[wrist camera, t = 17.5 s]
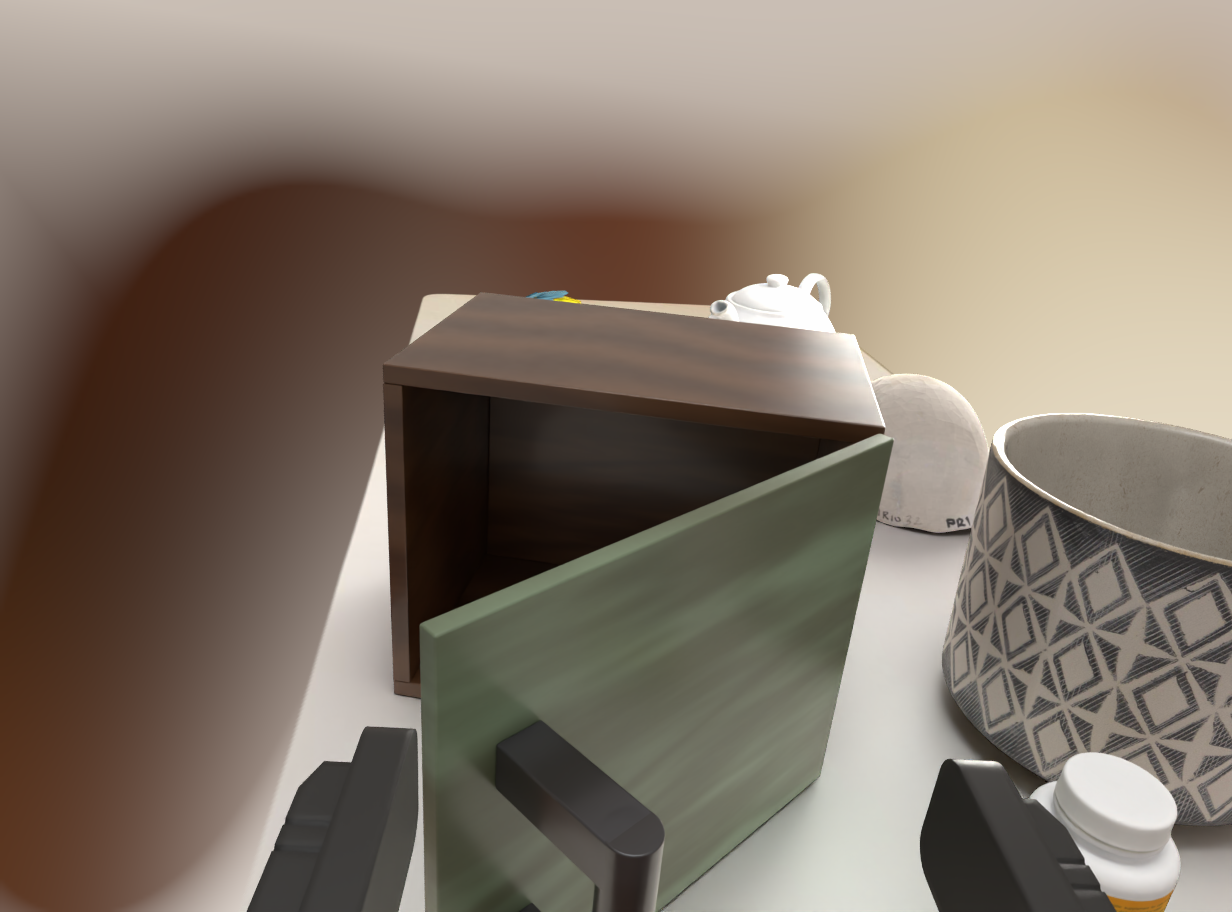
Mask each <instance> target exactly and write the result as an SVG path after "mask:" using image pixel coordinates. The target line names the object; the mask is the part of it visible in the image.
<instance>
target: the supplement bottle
mask: <svg viewBox="0 0 1232 912" xmlns="http://www.w3.org/2000/svg"><path fill="white" fill-rule="evenodd" d="M1029 799H1036V800H1037V801H1038V802H1039V803H1040V804H1041V805H1043V806H1044V807H1045V808H1046V809H1047V810H1048V811H1049V812H1050V813H1051V814H1052V815H1053V816H1054V817H1055V818H1056V819H1057V820H1059V821H1060V822H1061V823H1062V824H1063V825H1064V826H1065V827H1066V828H1067V830H1068V832H1069V833H1070V835H1071V837H1072V838H1073V840H1074V842H1075V843H1076V845H1077V847H1078V848H1079V850H1080V852H1081V853H1082V855H1083V857H1084V858H1085V864H1086V865H1089V867H1090V868H1091V870H1092V872H1093V873H1094V875H1095V876H1096V878H1097V880H1098V881H1099V883H1100V885H1101V886H1100V888H1101V891H1102V892H1105V893H1106V895H1107V896H1108V898H1109V900H1110V901H1111V903H1112V905H1113V906H1114V908H1115V910H1116V911H1117V912H1164V910H1165V908H1166V906H1167V904H1168V902H1169V899H1170V897H1171V895H1172V893H1173V890H1174V888H1175V886H1176V884H1177V881H1178V879H1179V876H1180V870H1181V862H1180V856H1179V853H1178V850H1177V847H1176V845H1175V843H1174V841H1173V839H1172V838H1171V830H1172V828H1173V826H1174V823H1175V821H1176V818H1177V806H1176V803H1175V801H1174V798H1173V797H1172V795H1171V794H1170V792H1169V791H1168V790H1167V789H1166V787H1165V786H1164V785H1163V784H1162V783H1161V782H1160V781H1159V780H1158V779H1156V778H1155V777H1154V776H1153V775H1151V774H1150V773H1149V772H1147V771H1146V770H1144V769H1142V768H1141V767H1139V766H1137V765H1135V764H1133V763H1131V762H1129V761H1127V760H1124V759H1122V758H1119V757H1116V756H1112V755H1108V754H1104V753H1096V752H1088V753H1080V754H1077V755H1075V756H1073V757H1071V758H1070V759H1069V760H1068V761H1067V762H1066V764H1065V765H1064V768H1063V770H1062V773H1061V775H1060V777H1059V779H1058V780H1057V781H1053V782H1050V783H1047V784H1044V785H1042V786H1040V787H1039V788H1038V789H1036V790H1035V791H1034V792H1033V793H1032V794H1031V796H1030V797H1029Z"/></svg>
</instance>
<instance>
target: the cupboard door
mask: <svg viewBox="0 0 1232 912" xmlns="http://www.w3.org/2000/svg"><path fill="white" fill-rule="evenodd" d="M893 443H894V439H893V438H891V437H888V436H885V435H883V434H877V435H874V436H872V437H870V438H867V439H865V440H862V441H860V442H857V443H855V444H853V445H850V446H848V447H845V448H843V449H841V450H838V451H836V452H833V453H831V454H829V455H826V456H824V457H821V458H819V459H816V460H814V461H812V462H809V463H807V464H804V465H802V466H800V467H797V468H795V469H792V470H790V471H787V472H785V473H783V474H780V475H778V476H775V477H773V478H771V479H768V480H766V481H763V482H761V483H758V484H756V485H754V486H751V487H749V488H746V489H744V490H742V491H739V492H737V493H734V494H732V495H729V496H727V497H725V498H722V499H720V500H717V501H715V502H713V503H710V504H708V505H705V506H703V507H700V508H698V509H696V510H693V511H691V512H688V513H686V514H684V515H681V516H679V517H676V518H674V519H671V520H669V521H667V522H664V523H662V524H659V525H657V526H655V527H652V528H650V529H647V530H645V531H642V532H640V533H638V534H635V535H633V536H630V537H628V538H626V539H623V540H621V541H618V542H616V543H613V544H611V545H609V546H606V547H604V548H601V549H599V550H597V551H594V552H592V553H589V554H587V555H584V556H582V557H580V558H577V559H575V560H572V561H570V562H568V563H565V564H563V565H560V566H558V567H555V568H553V569H551V570H548V571H546V572H543V573H541V574H539V575H536V576H534V577H531V578H529V579H526V580H524V581H522V582H519V583H517V584H514V585H512V586H510V587H507V588H505V589H502V590H500V591H497V592H495V593H493V594H490V595H488V596H485V597H483V598H481V599H478V600H476V601H473V602H471V603H468V604H466V605H464V606H461V607H459V608H456V609H454V610H452V611H449V612H447V613H444V614H442V615H440V616H437V617H435V618H432V619H430V620H427V621H425V622H423V623H421V624H420V672H421V723H422V774H423V825H424V876H425V912H658V911H659V910H660V909H662V908H663V907H664V906H665V905H666V904H668V903H669V902H670V901H671V900H672V899H674V898H675V897H676V896H677V895H678V894H680V893H681V892H682V891H683V890H684V889H686V888H687V887H688V886H689V885H690V884H692V883H693V882H694V881H695V880H696V879H697V878H699V877H700V876H701V875H702V874H703V873H705V872H706V871H707V870H708V869H709V868H711V867H712V866H713V865H714V864H715V863H717V862H718V861H719V860H720V859H721V858H723V857H724V856H725V855H726V854H727V853H729V852H730V851H731V850H732V849H733V848H735V847H736V846H737V845H738V844H739V843H741V842H742V841H743V840H744V839H745V838H747V837H748V836H749V835H750V834H751V833H752V832H754V831H755V830H756V829H757V828H758V827H760V826H761V825H762V824H763V823H764V822H766V821H767V820H768V819H769V818H770V817H772V816H773V815H774V814H775V813H776V812H778V811H779V810H780V809H781V808H782V807H784V806H785V805H786V804H787V803H788V802H790V801H791V800H792V799H793V798H794V797H796V796H797V795H798V794H799V793H800V792H802V791H803V790H804V789H805V788H806V787H807V786H809V785H810V784H811V783H812V782H813V781H815V780H816V779H817V778H818V777H819V776H820V774H821V769H822V765H823V760H824V755H825V751H826V746H827V742H828V737H829V733H830V728H831V724H832V719H833V715H834V710H835V706H836V701H837V697H838V692H839V687H840V683H841V678H842V674H843V669H844V665H845V660H846V656H847V651H848V647H849V642H850V638H851V633H852V629H853V624H854V620H855V615H856V610H857V606H858V601H859V597H860V592H861V588H862V583H863V579H864V574H865V570H866V565H867V561H868V556H869V552H870V547H871V542H872V538H873V533H874V529H875V524H876V520H877V515H878V511H879V506H880V502H881V497H882V493H883V488H884V484H885V479H886V474H887V470H888V465H889V461H890V456H891V452H892V447H893Z"/></svg>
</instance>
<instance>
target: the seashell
mask: <svg viewBox="0 0 1232 912" xmlns="http://www.w3.org/2000/svg"><path fill="white" fill-rule="evenodd" d="M870 383H871V386H872V389H873V392H874V395H875V398H876V401H877V404H878V407H879V410H880V413H881V416H882V419H883V422H884V425H885V428H886V429H885V433H884V435H885V436H888V437H891V438H893V439H894V443H893V447H892V452H891V456H890V461H889V465H888V470H887V474H886V479H885V484H884V488H883V493H882V497H881V502H880V506H879V511H878V515H877V520H878V521H880V522H883V523H886V524H889V525H892V526H899V527H911V528H916V529H921V530H925V531H929V532H936V533H941V532H949V531H956V530H962V529H968V528H972V524H973V520H974V516H975V511H976V507H977V503H978V499H979V494H980V490H981V486H982V482H983V478H984V473H985V469H986V465H987V461H988V456H989V449H988V444H987V440H986V437H985V433H984V430H983V428H982V425H981V422H980V420H979V418H978V416H977V415H976V413H975V411H974V410H973V408H972V407H971V405H970V404H969V403H968V402H967V400H966V399H965V398H964V397H963V396H962V395H961V394H959V392H957V391H956V390H955V389H953V388H952V387H951V386H949V385H947V384H946V383H944V382H942V381H940V380H937V379H934V378H932V377H928V376H924V375H918V374H894V375H889V376H885V377H881V378H878V379H875V380H873V381H871V382H870Z"/></svg>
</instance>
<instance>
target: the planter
mask: <svg viewBox="0 0 1232 912" xmlns="http://www.w3.org/2000/svg"><path fill="white" fill-rule="evenodd" d="M942 667H943V673H944V677H945V680H946V683H947V686H948V688H949V690H950V692H951V694H952V696H953V698H954V700H955V701H956V703H957V705H958V706H959V707H960V709H961V710H962V712H963V713H964V714H965V716H966V717H967V718H968V719H969V720H970V721H971V723H972V724H973V725H974V726H975V727H976V728H977V729H978V730H979V731H980V732H981V733H982V734H983V735H984V736H985V737H986V738H987V739H988V740H989V741H990V742H992V743H993V744H994V745H995V746H996V747H998V748H999V749H1000V750H1001V751H1002V752H1004V753H1005V754H1006V755H1008V756H1009V757H1010V758H1012V759H1013V760H1015V761H1016V762H1018V763H1019V764H1020V765H1022V766H1023V767H1025V768H1027V769H1028V770H1030V771H1031V772H1033V773H1035V774H1036V775H1038V776H1040V777H1041V778H1043V779H1045V780H1047V781H1048V782H1053V781H1057V780H1058V779H1059V777H1060V775H1061V773H1062V770H1063V768H1064V765H1065V764H1066V762H1067V761H1068V760H1069V759H1070V758H1071V757H1073V756H1075V755H1077V754H1080V753H1088V752H1096V753H1104V754H1108V755H1112V756H1116V757H1119V758H1122V759H1124V760H1127V761H1129V762H1131V763H1133V764H1135V765H1137V766H1139V767H1141V768H1142V769H1144V770H1146V771H1147V772H1149V773H1150V774H1151V775H1153V776H1154V777H1155V778H1156V779H1158V780H1159V781H1160V782H1161V783H1162V784H1163V785H1164V786H1165V787H1166V789H1167V790H1168V791H1169V792H1170V794H1171V795H1172V797H1173V798H1174V801H1175V803H1176V806H1177V818H1176V821H1175V823H1174V824H1180V825H1193V826H1216V825H1228V824H1232V439H1228V438H1224V437H1221V436H1217V435H1213V434H1209V433H1205V432H1201V431H1197V430H1193V429H1188V428H1184V427H1179V426H1174V425H1169V424H1164V423H1159V422H1153V421H1147V420H1141V419H1134V418H1126V417H1118V416H1109V415H1096V414H1073V413H1063V414H1045V415H1037V416H1031V417H1026V418H1022V419H1018V420H1015V421H1012V422H1010V423H1008V424H1006V425H1004V426H1003V427H1001V428H1000V429H999V430H998V431H997V432H996V433H995V435H994V437H993V440H992V444H991V448H990V452H989V456H988V461H987V465H986V469H985V473H984V478H983V482H982V486H981V490H980V494H979V499H978V503H977V507H976V511H975V516H974V520H973V524H972V528H971V533H970V537H969V541H968V545H967V549H966V554H965V558H964V562H963V566H962V571H961V575H960V579H959V583H958V588H957V592H956V596H955V600H954V604H953V609H952V613H951V617H950V621H949V626H948V630H947V634H946V638H945V643H944V647H943V653H942Z"/></svg>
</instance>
